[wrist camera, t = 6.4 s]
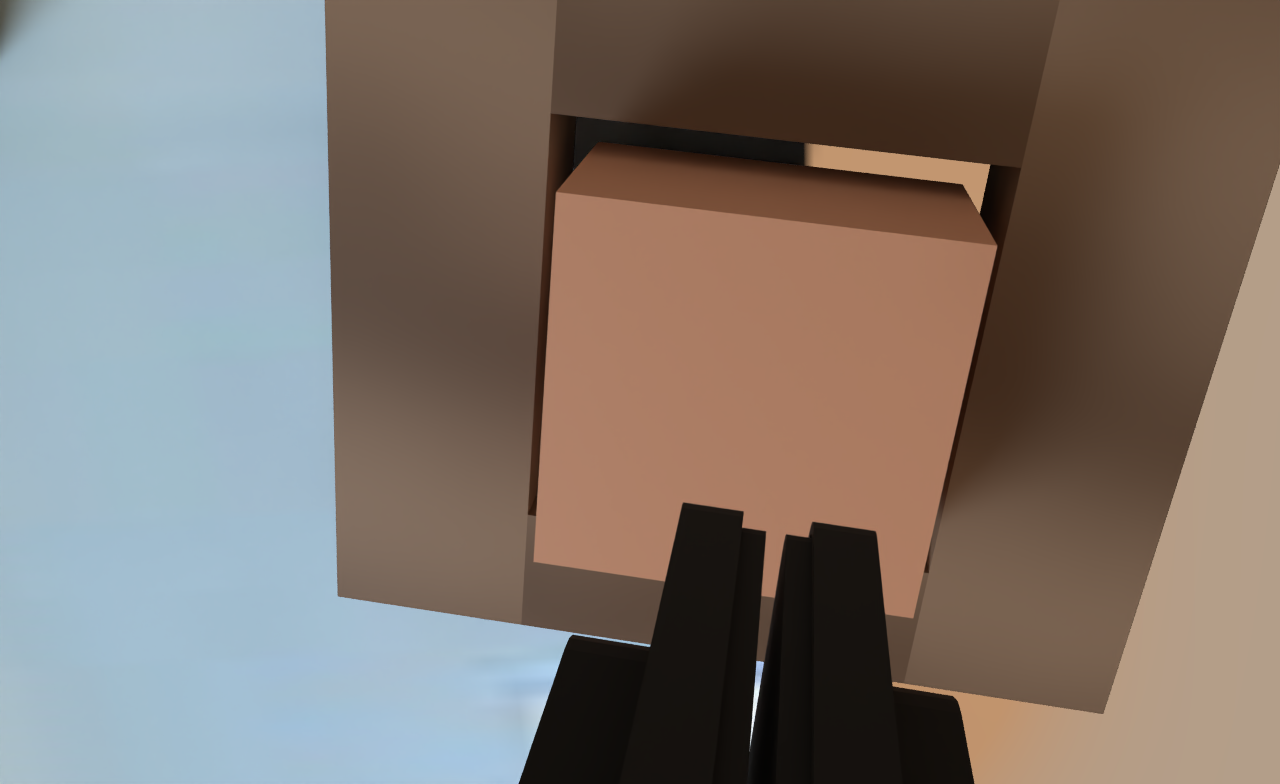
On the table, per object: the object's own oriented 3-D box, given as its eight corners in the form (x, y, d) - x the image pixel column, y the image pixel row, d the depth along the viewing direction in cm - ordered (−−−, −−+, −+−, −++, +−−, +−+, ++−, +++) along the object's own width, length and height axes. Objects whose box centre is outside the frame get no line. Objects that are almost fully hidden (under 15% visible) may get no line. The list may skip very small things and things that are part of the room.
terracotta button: (598, 141, 16) (555, 192, 13) (962, 184, 15) (998, 245, 13) (574, 460, 18) (533, 561, 15) (895, 505, 17) (913, 618, 15)
